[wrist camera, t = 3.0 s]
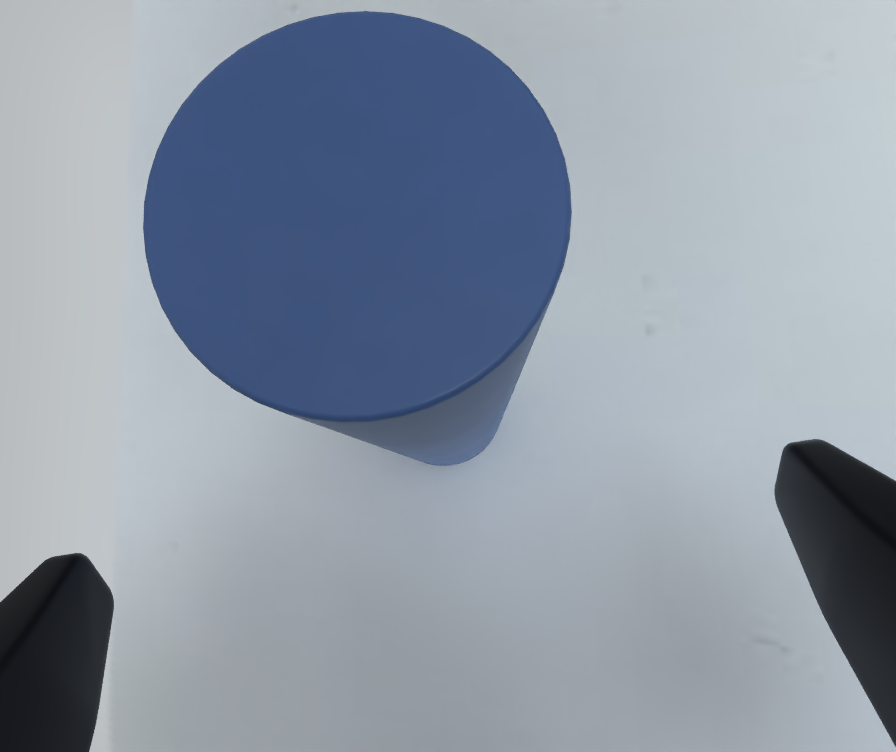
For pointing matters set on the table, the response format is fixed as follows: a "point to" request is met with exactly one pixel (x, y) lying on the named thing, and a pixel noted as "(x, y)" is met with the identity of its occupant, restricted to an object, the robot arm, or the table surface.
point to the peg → (362, 229)
